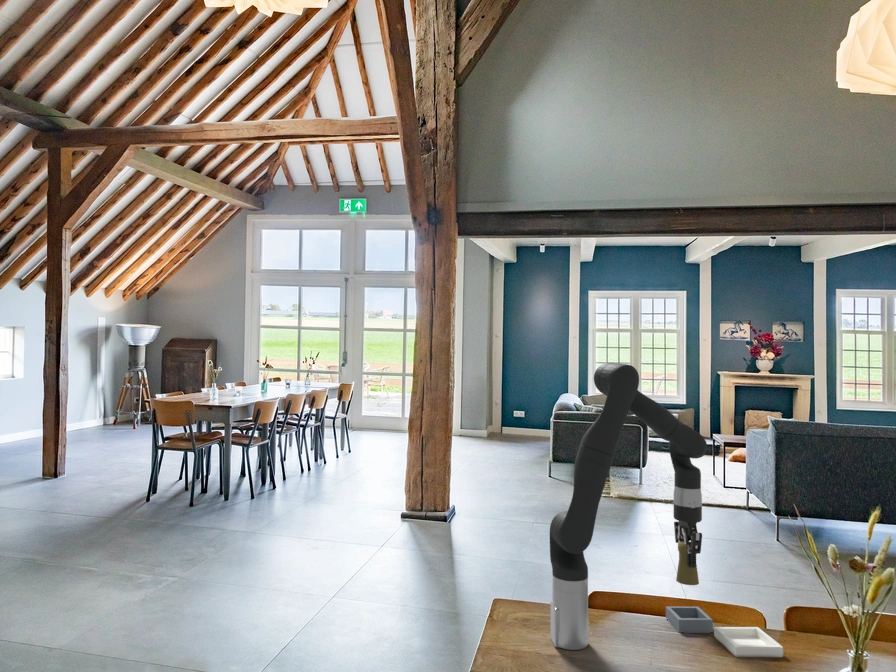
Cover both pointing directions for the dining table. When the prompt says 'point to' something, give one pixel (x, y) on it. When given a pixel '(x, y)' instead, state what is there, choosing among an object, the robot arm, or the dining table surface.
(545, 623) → the dining table surface
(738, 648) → the tray
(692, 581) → the cork
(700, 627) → the box
